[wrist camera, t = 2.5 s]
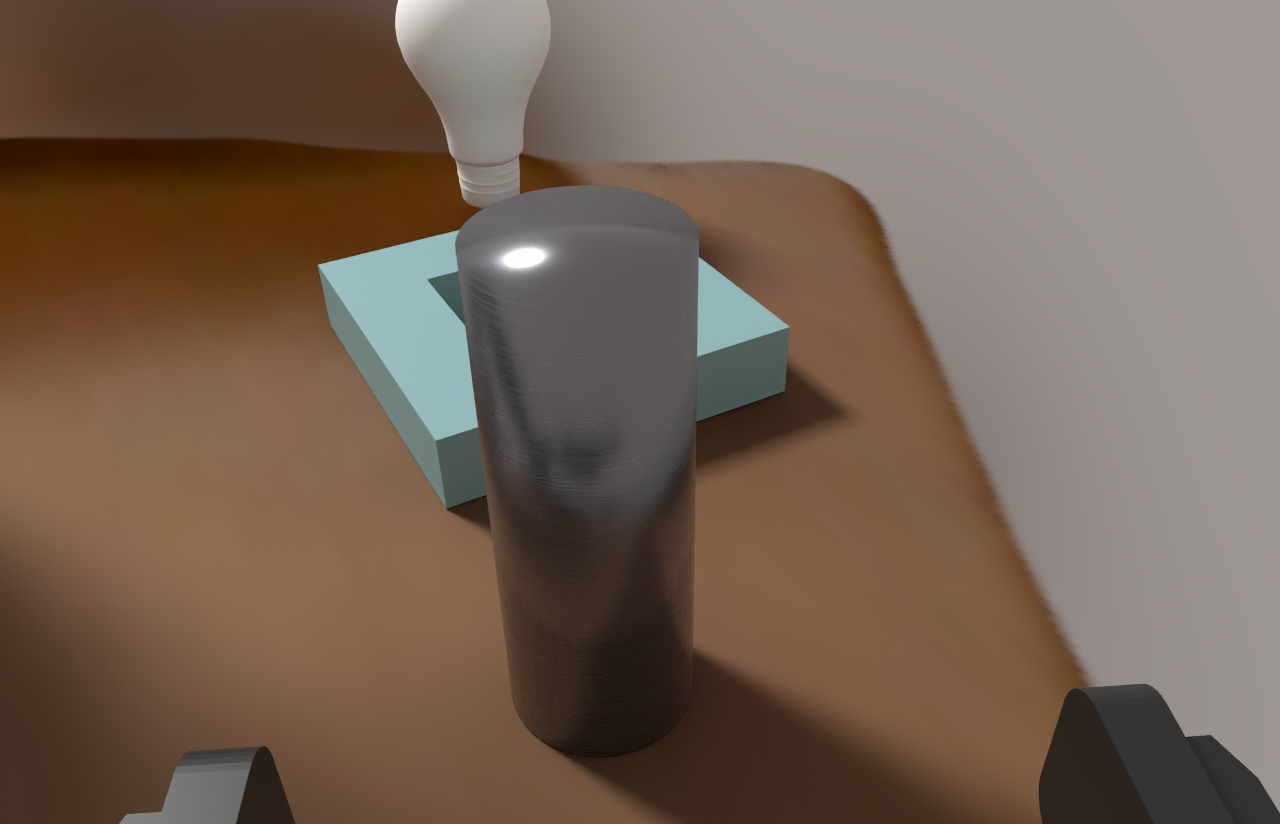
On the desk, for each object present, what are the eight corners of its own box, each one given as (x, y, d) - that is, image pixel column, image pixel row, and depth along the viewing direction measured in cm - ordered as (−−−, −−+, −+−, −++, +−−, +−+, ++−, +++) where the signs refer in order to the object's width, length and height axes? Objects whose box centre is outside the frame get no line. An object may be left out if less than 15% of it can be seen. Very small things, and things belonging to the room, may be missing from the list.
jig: (446, 508, 32) (435, 440, 31) (330, 325, 41) (318, 265, 39) (784, 391, 37) (789, 326, 35) (616, 248, 45) (614, 192, 44)
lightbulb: (587, 218, 48) (574, -50, 41) (458, 255, 45) (423, -25, 39) (522, 171, 52) (501, -79, 46) (401, 203, 49) (360, -58, 43)
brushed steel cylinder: (559, 786, 25) (514, 322, 18) (484, 655, 28) (420, 217, 21) (726, 708, 26) (746, 255, 19) (637, 593, 29) (626, 168, 22)
